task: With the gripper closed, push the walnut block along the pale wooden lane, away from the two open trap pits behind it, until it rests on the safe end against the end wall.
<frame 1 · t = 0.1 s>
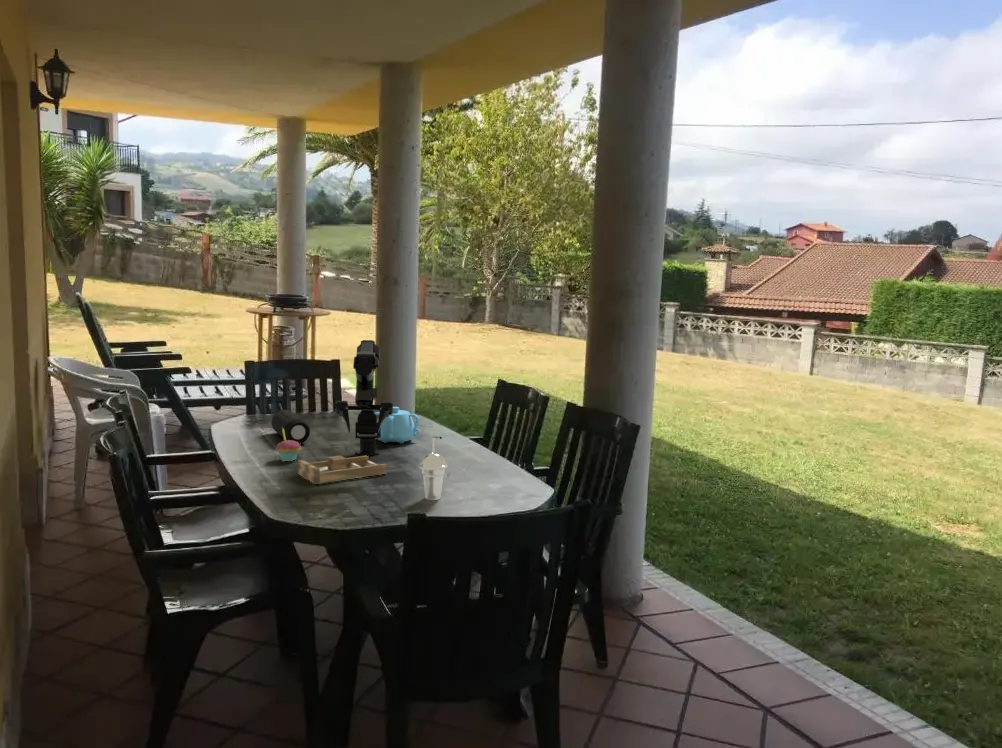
hand: (363, 432, 261), 15 cm above the table, tool tilted 30°, fingers open, 9 cm apart
portable speaker: (290, 439, 314), on the table
cup with straw: (432, 498, 241), on the table
cupcake: (288, 460, 281), on the table
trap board: (342, 474, 264), on the table
walnut block: (336, 469, 263), point 2 cm above the table, touching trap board
decorative pot: (394, 441, 316), on the table
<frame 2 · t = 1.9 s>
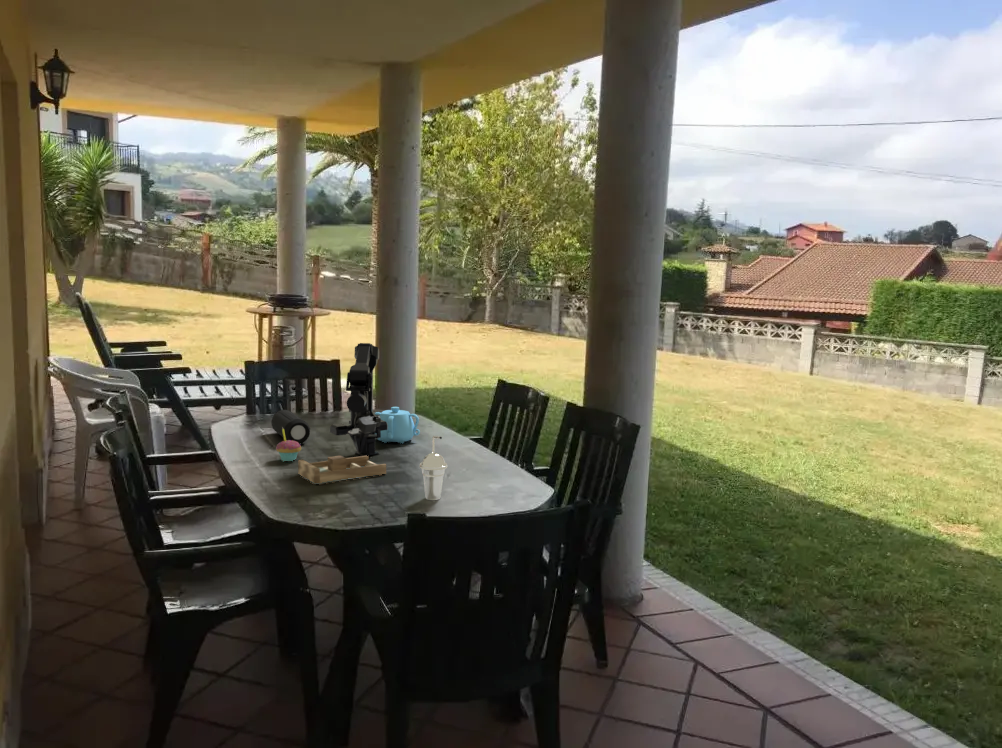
hand: (359, 452, 267), 7 cm above the table, tool pointing down, fingers closed
nothing on the table moved.
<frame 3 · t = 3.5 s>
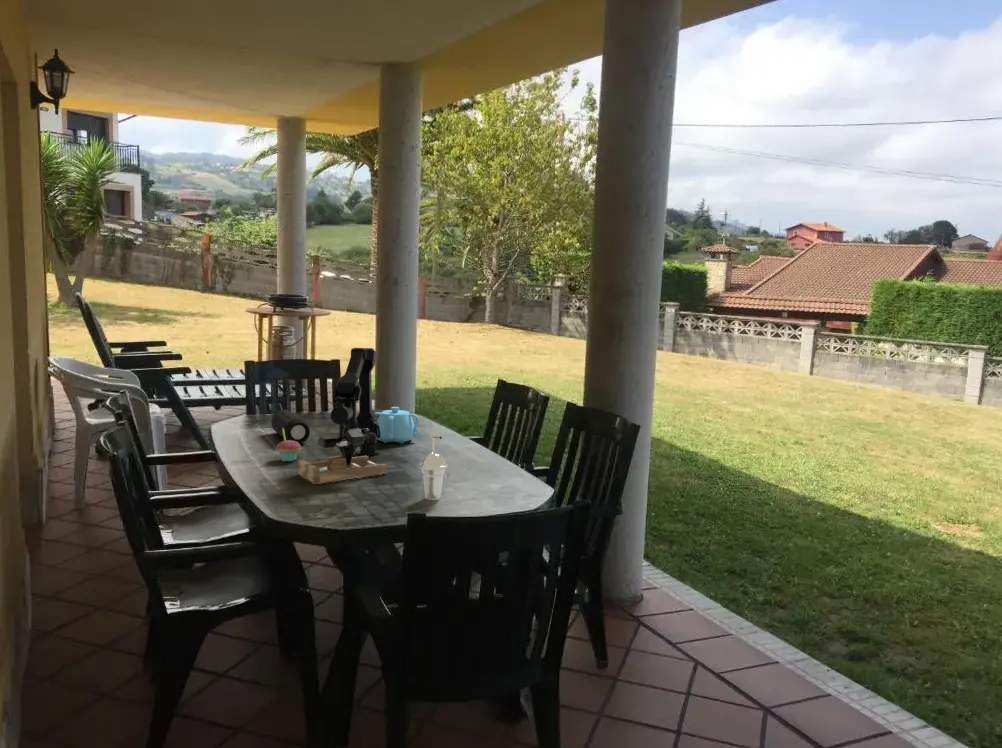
hand: (347, 464, 265), 3 cm above the table, tool pointing down, fingers closed
walnut block: (336, 469, 263), point 2 cm above the table, touching gripper, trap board
everything else where it was.
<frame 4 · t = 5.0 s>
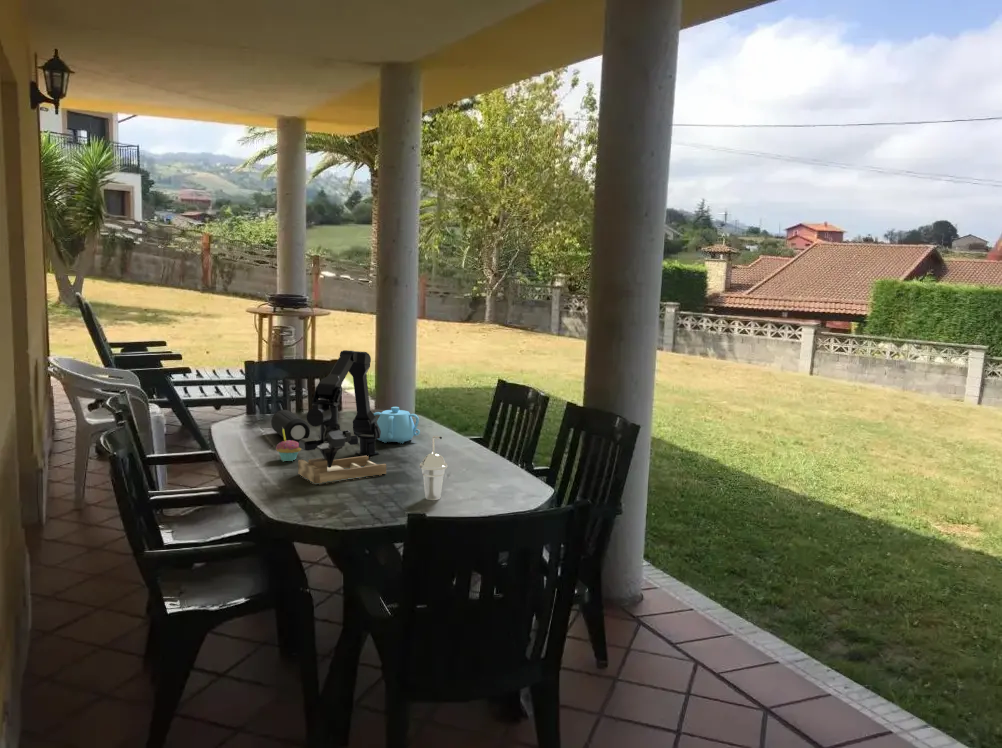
hand: (329, 467, 261), 3 cm above the table, tool pointing down, fingers closed
walnut block: (317, 472, 259), point 2 cm above the table, touching gripper, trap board
everything else where it was.
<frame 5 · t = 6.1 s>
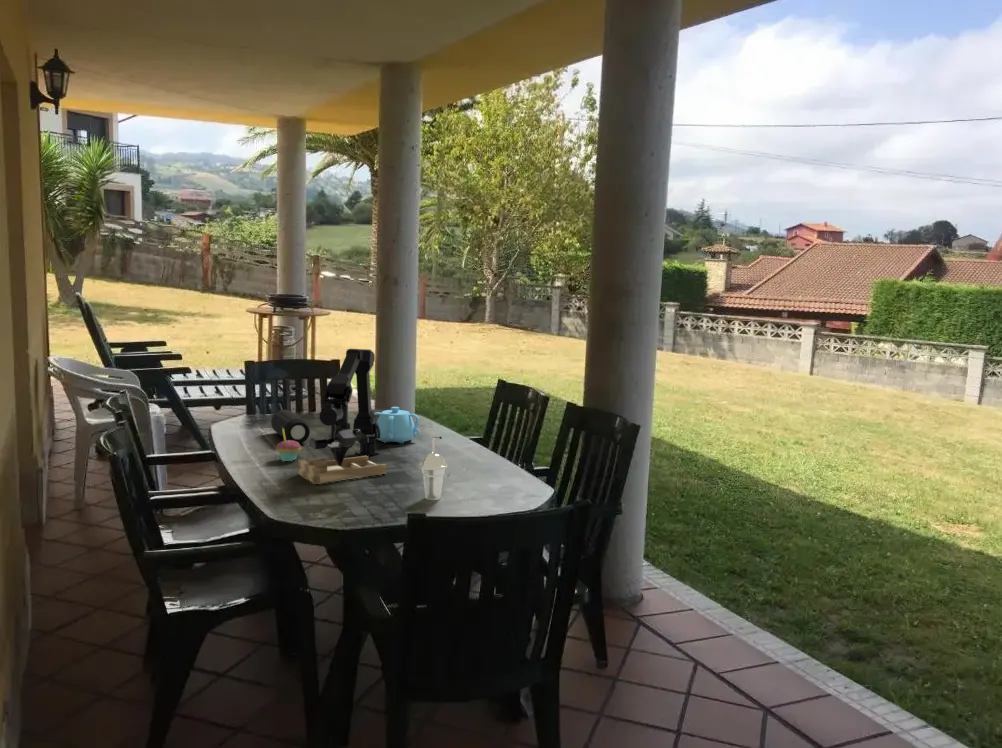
hand: (339, 465, 263), 3 cm above the table, tool pointing down, fingers closed
walnut block: (317, 472, 259), point 2 cm above the table, touching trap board
everything else where it was.
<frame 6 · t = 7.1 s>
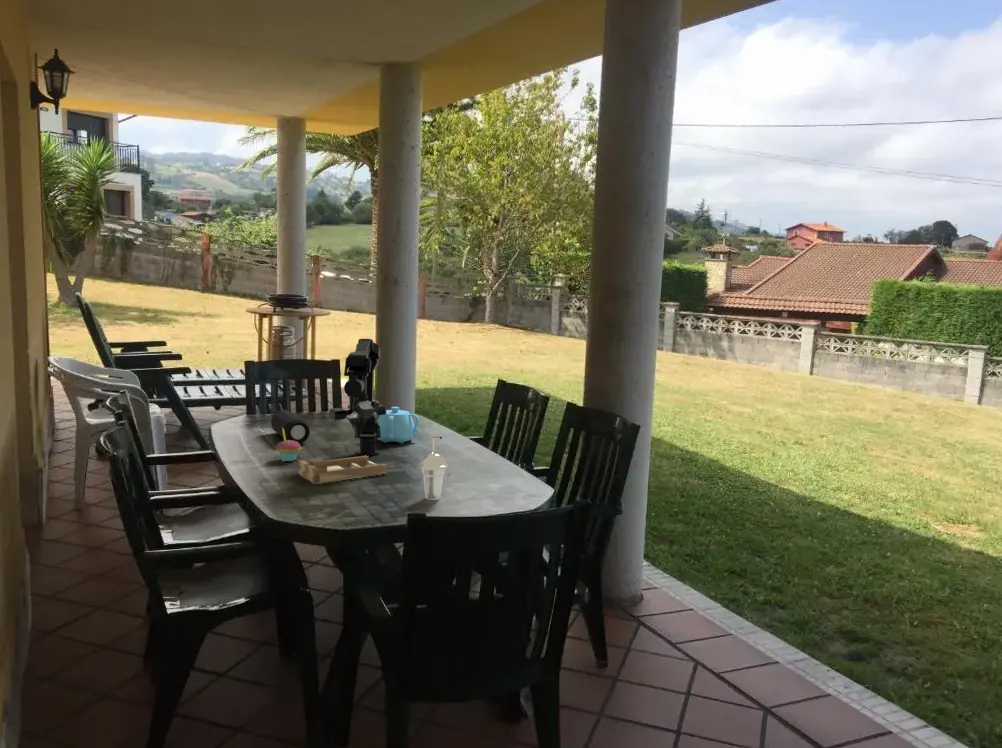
hand: (357, 436, 270), 11 cm above the table, tool pointing down, fingers closed
nothing on the table moved.
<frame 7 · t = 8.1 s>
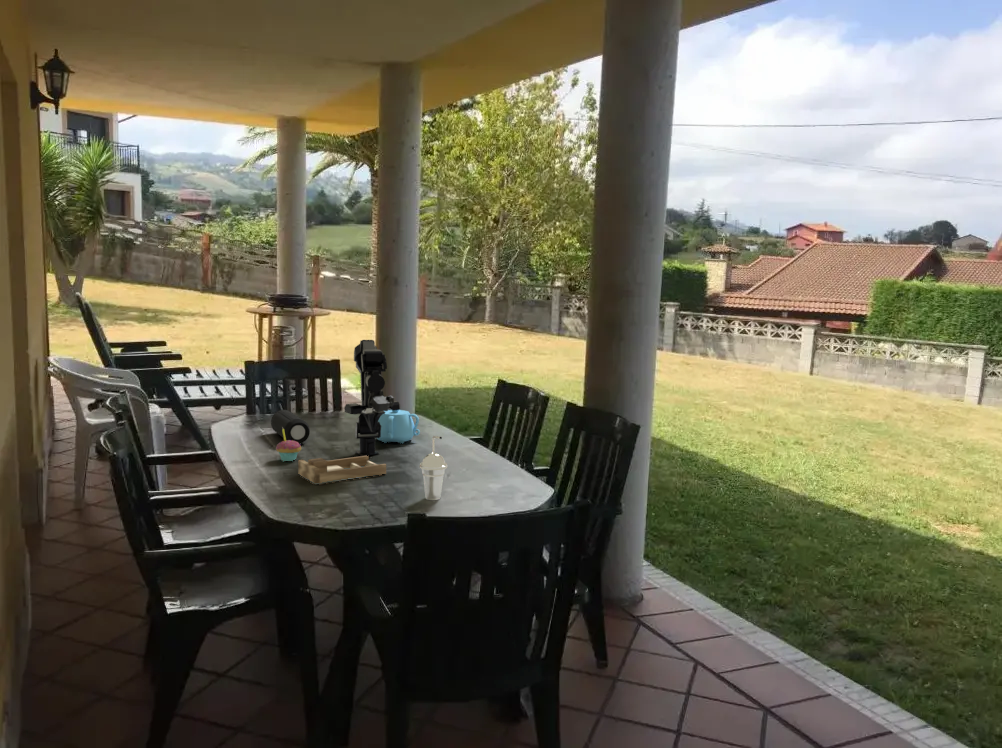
hand: (372, 431, 275), 12 cm above the table, tool pointing down, fingers closed
nothing on the table moved.
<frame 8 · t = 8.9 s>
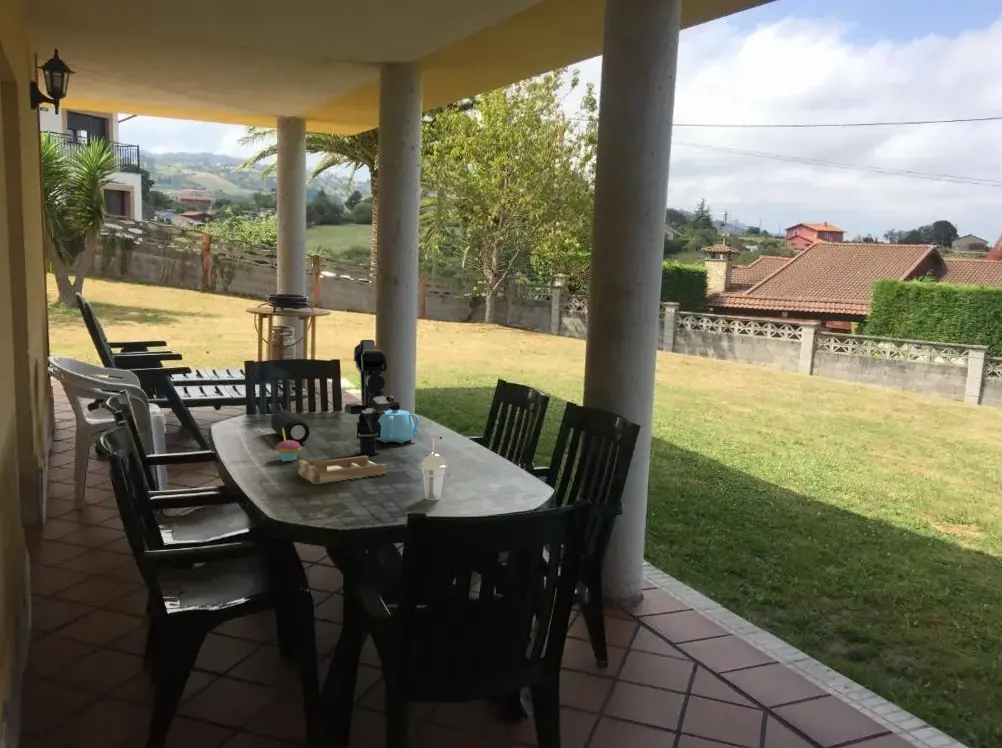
hand: (372, 431, 275), 12 cm above the table, tool pointing down, fingers closed
nothing on the table moved.
at the end: walnut block 0.8 cm from the target spot, point 2.0 cm above the table; walnut block tilted 0°; walnut block moved 6.7 cm from its start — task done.
